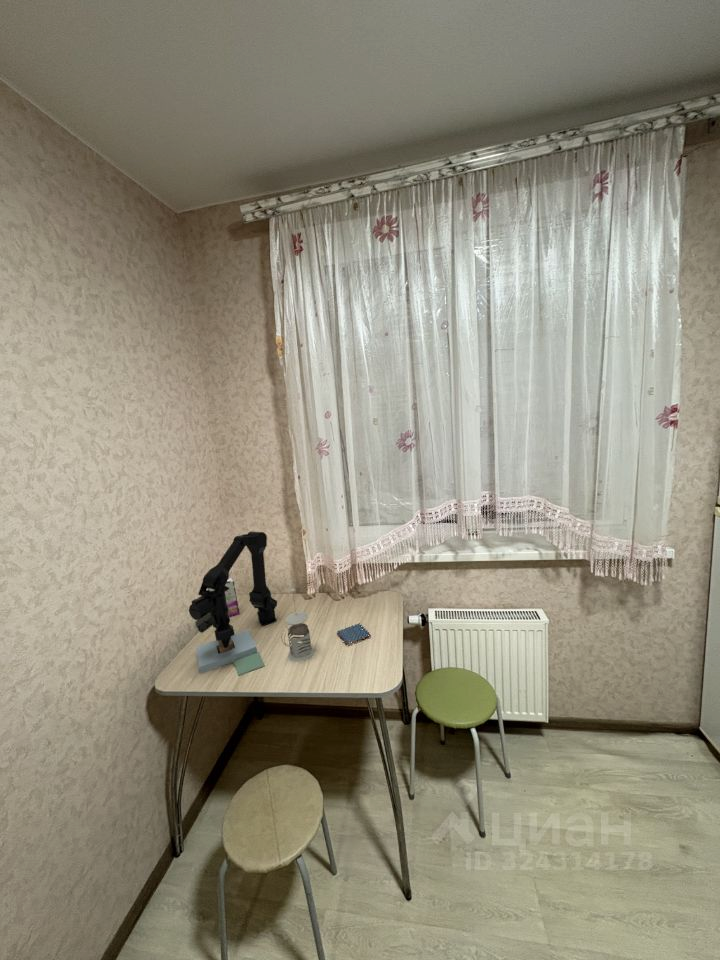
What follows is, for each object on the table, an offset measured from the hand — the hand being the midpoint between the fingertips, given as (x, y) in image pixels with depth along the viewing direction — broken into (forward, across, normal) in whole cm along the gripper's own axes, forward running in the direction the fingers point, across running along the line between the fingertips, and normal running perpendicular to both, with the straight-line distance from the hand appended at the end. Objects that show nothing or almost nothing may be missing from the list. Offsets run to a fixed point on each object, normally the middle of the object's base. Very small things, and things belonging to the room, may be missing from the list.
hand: (225, 644), depth 142 cm
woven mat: (+4, +18, +44) cm, 48 cm away
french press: (+4, +17, +23) cm, 29 cm away
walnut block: (+4, 0, 0) cm, 4 cm away
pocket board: (+4, 0, 0) cm, 4 cm away
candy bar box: (+4, -30, +4) cm, 31 cm away
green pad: (+4, +12, +6) cm, 14 cm away
